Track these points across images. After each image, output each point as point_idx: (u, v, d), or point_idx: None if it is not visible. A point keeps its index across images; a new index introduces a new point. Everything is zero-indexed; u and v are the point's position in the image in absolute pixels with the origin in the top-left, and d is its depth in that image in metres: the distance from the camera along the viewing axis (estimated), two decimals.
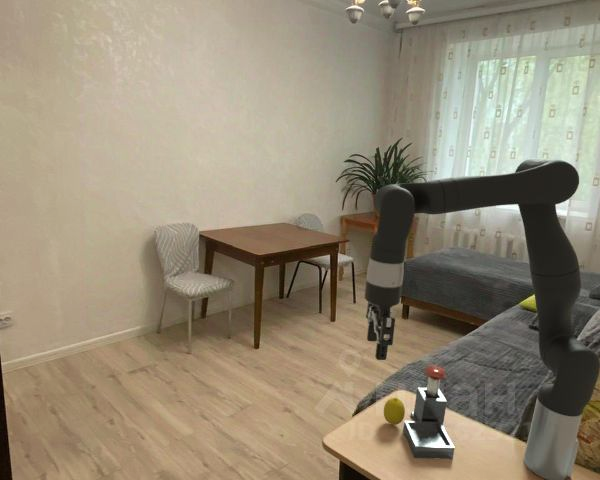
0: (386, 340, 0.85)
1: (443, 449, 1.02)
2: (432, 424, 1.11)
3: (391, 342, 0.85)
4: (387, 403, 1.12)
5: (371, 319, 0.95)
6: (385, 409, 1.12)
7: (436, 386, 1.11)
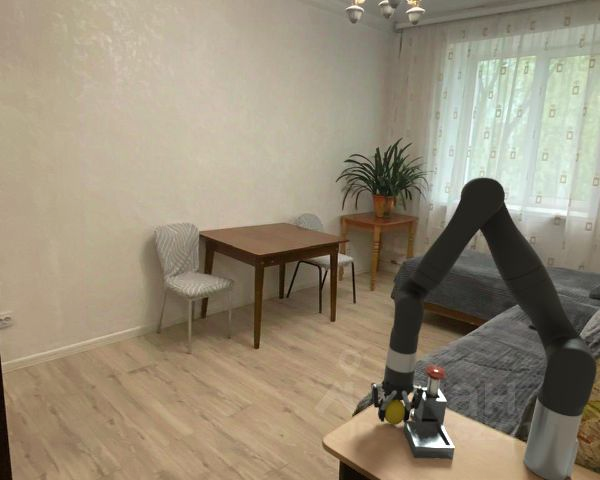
0: None
1: (443, 449, 1.02)
2: (432, 424, 1.11)
3: None
4: None
5: None
6: (385, 409, 1.12)
7: (436, 386, 1.11)
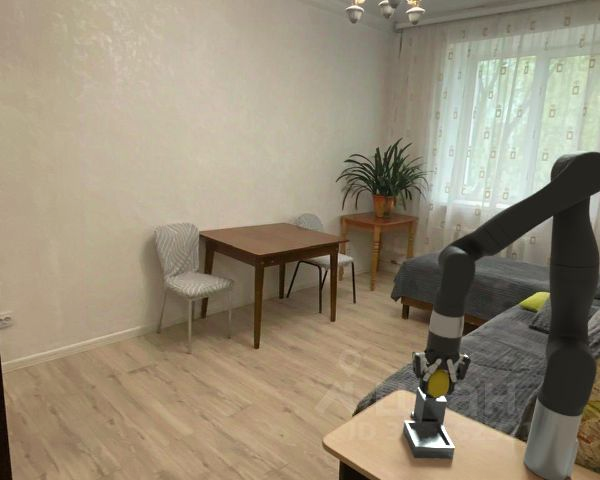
0: None
1: (443, 449, 1.02)
2: (432, 424, 1.11)
3: None
4: None
5: None
6: (428, 380, 1.02)
7: None
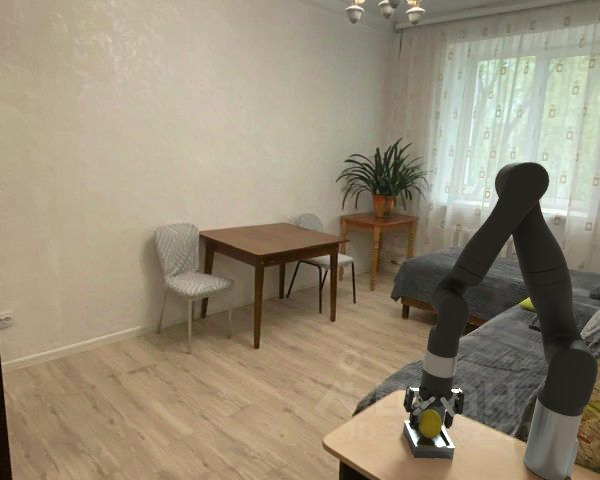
0: None
1: (443, 449, 1.02)
2: None
3: None
4: (423, 415, 1.05)
5: None
6: (421, 422, 1.05)
7: None
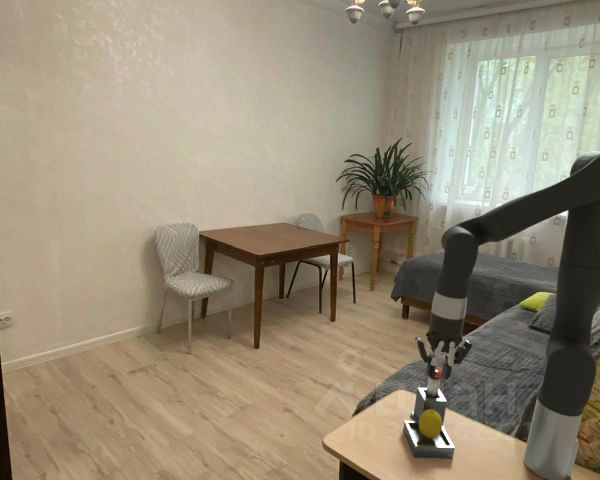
0: None
1: (443, 449, 1.02)
2: None
3: None
4: (423, 415, 1.05)
5: None
6: (421, 422, 1.05)
7: (436, 386, 1.11)
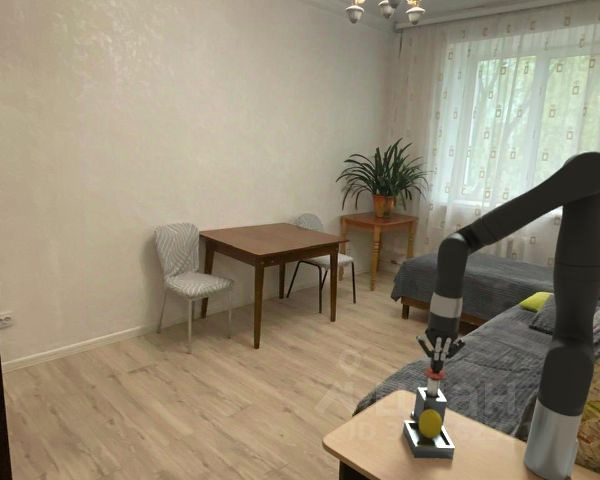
0: (449, 352, 1.11)
1: (443, 449, 1.02)
2: None
3: None
4: (423, 415, 1.05)
5: None
6: (421, 422, 1.05)
7: (435, 387, 1.11)
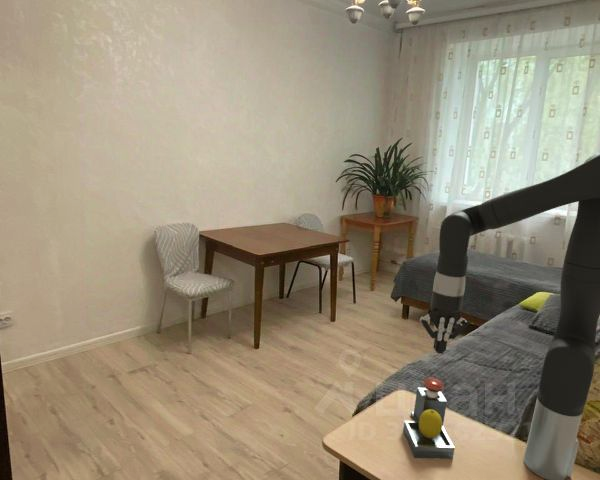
0: (452, 333, 1.10)
1: (443, 449, 1.02)
2: None
3: None
4: (423, 415, 1.05)
5: None
6: (421, 422, 1.05)
7: None
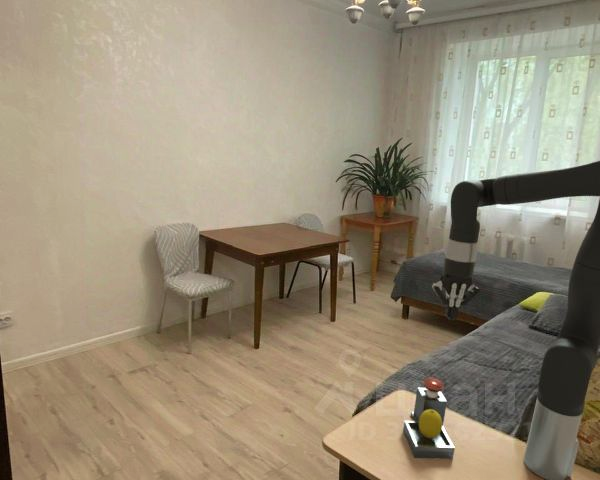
0: None
1: (443, 449, 1.02)
2: None
3: None
4: (423, 415, 1.05)
5: None
6: (421, 422, 1.05)
7: None
